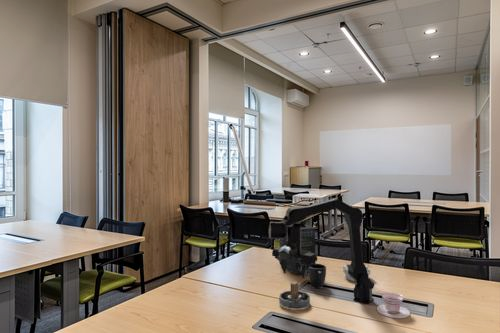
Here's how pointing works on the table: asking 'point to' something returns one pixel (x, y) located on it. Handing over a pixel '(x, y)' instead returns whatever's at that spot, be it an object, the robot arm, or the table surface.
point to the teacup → (393, 306)
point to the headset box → (306, 246)
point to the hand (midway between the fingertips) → (294, 275)
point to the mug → (317, 275)
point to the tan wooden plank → (294, 290)
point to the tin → (294, 301)
